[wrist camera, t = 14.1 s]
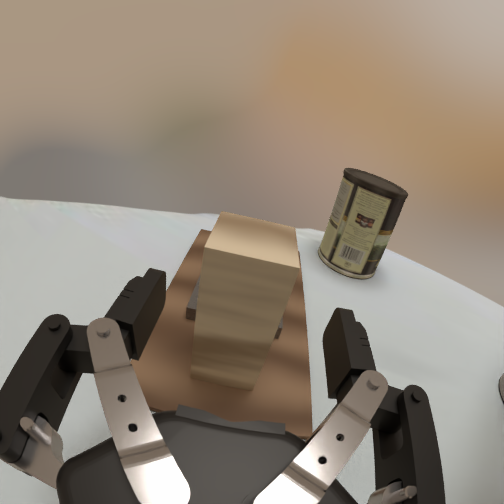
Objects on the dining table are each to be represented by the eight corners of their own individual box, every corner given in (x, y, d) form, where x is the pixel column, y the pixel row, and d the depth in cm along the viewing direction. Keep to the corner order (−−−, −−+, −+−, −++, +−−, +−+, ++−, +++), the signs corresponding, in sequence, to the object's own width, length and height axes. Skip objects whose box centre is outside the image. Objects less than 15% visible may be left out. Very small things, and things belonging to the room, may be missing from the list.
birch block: (252, 391, 20) (299, 268, 14) (190, 377, 20) (204, 246, 14) (256, 345, 25) (295, 227, 19) (202, 334, 25) (221, 211, 19)
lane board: (309, 439, 18) (320, 429, 17) (116, 397, 17) (111, 384, 16) (298, 254, 42) (302, 242, 41) (200, 232, 42) (202, 220, 41)
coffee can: (362, 249, 49) (389, 179, 42) (383, 283, 40) (420, 201, 33) (311, 239, 48) (336, 162, 41) (325, 274, 39) (360, 181, 32)
